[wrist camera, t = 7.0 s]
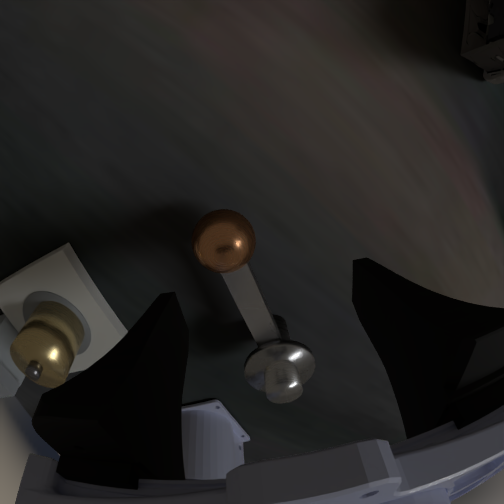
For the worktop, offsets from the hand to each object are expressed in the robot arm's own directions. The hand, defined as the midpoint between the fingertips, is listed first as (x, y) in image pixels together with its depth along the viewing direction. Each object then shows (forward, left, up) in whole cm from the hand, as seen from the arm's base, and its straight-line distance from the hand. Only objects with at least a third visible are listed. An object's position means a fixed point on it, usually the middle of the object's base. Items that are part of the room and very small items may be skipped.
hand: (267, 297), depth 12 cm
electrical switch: (+9, -22, -10) cm, 26 cm away
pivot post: (-10, +2, -10) cm, 14 cm away
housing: (-2, +18, -8) cm, 20 cm away
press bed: (-2, +20, -10) cm, 23 cm away
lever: (-3, +2, -8) cm, 9 cm away
